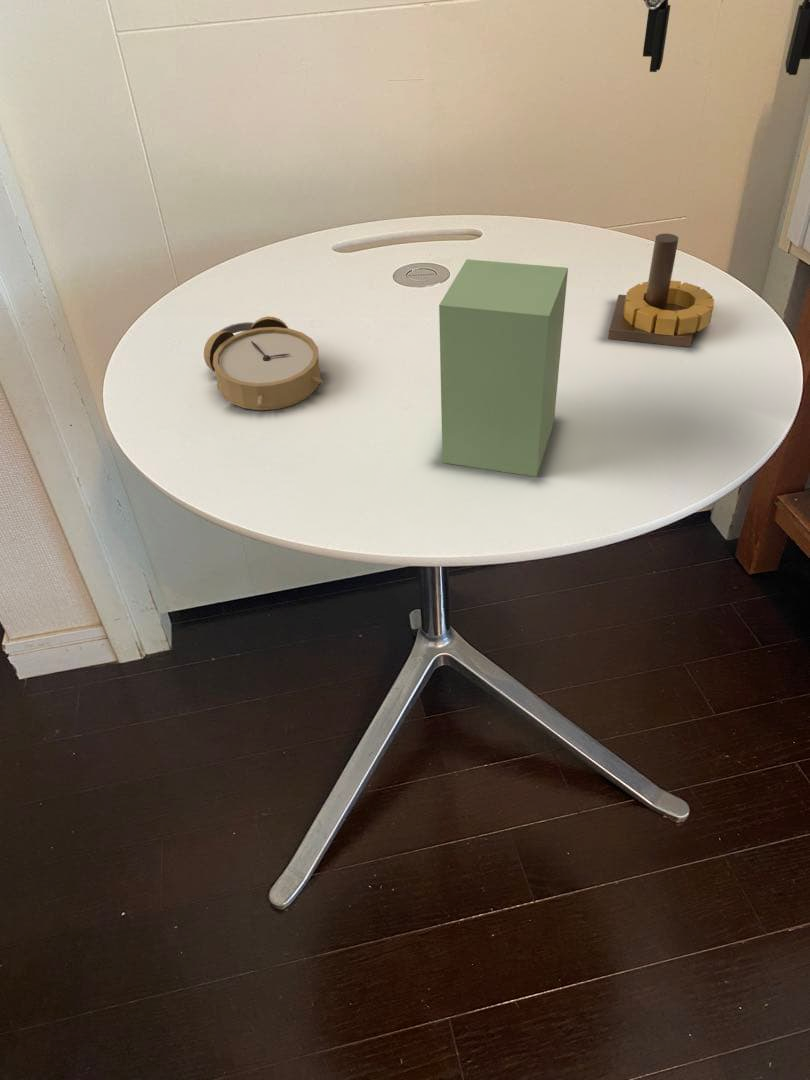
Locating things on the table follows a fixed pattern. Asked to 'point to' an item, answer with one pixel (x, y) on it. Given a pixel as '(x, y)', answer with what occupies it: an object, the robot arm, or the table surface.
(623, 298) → the peg stand
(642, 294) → the brass ring
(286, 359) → the alarm clock
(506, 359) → the sage green upright pillar
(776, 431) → the table surface
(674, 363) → the table surface
